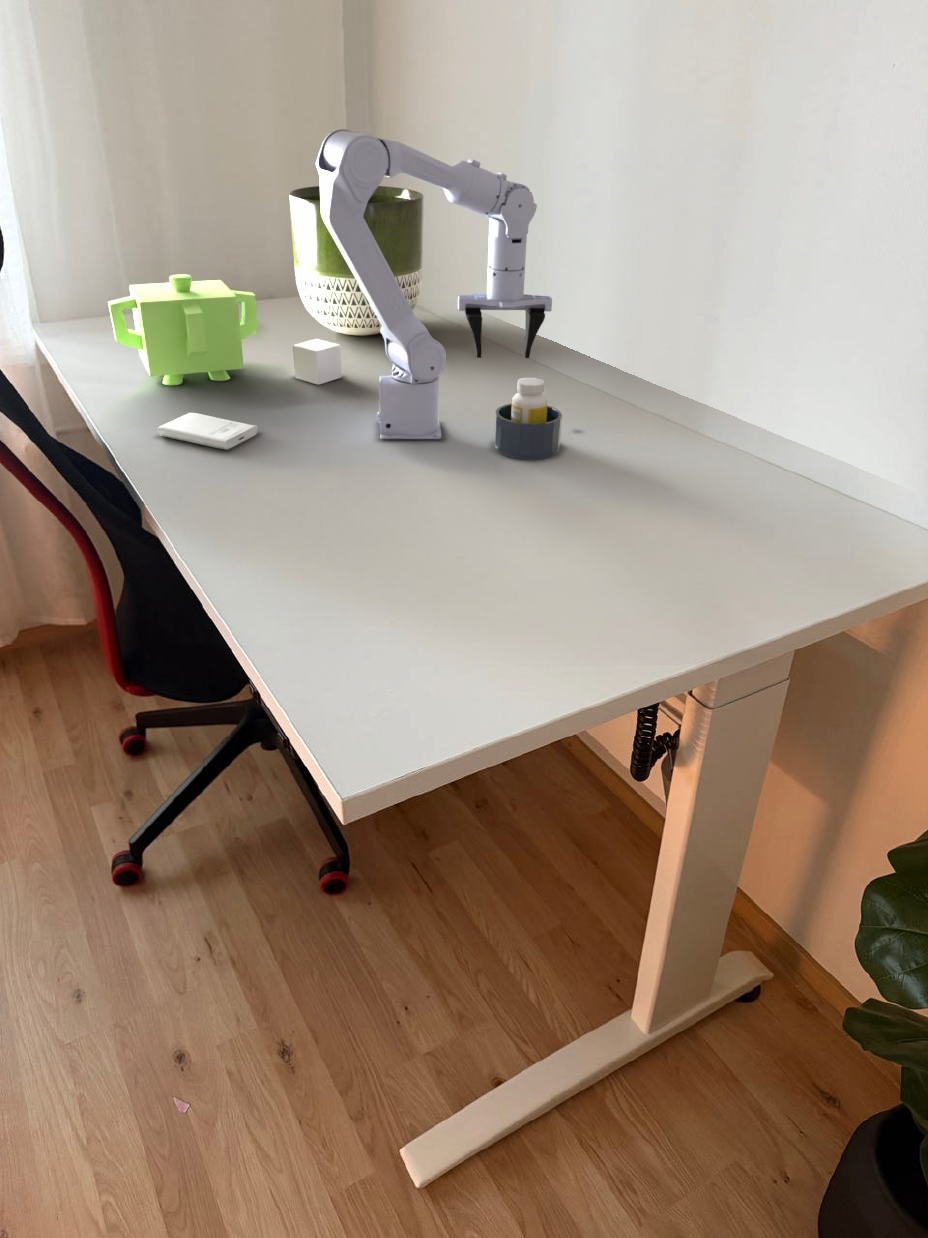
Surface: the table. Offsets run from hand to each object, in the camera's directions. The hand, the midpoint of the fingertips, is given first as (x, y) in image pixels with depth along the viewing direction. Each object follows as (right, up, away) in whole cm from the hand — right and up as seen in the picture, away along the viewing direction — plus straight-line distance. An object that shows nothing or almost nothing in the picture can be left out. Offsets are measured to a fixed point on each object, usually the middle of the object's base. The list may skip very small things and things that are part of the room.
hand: (502, 356), depth 151 cm
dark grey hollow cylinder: (+4, -16, -6) cm, 17 cm away
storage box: (-56, +3, +22) cm, 60 cm away
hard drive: (-46, -14, -5) cm, 48 cm away
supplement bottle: (+4, -15, -6) cm, 17 cm away
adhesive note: (-33, +2, +22) cm, 40 cm away
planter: (-28, +19, +50) cm, 61 cm away
